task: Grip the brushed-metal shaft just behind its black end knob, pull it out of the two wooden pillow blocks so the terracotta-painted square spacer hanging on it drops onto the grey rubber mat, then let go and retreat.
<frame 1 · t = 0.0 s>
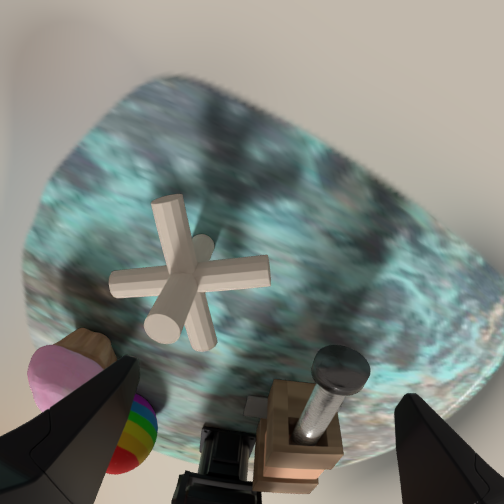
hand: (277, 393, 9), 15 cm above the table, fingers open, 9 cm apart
shaft: (307, 431, 23), point 6 cm above the table, slide at 0.0 cm, touching spacer
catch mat: (292, 410, 31), on the table
decorative egg: (131, 402, 33), on the table
pipe connector: (202, 244, 24), on the table
spacer: (292, 430, 28), point 3 cm above the table, touching shaft
pillow blocks: (300, 392, 29), on the table
cupcake: (98, 342, 29), on the table
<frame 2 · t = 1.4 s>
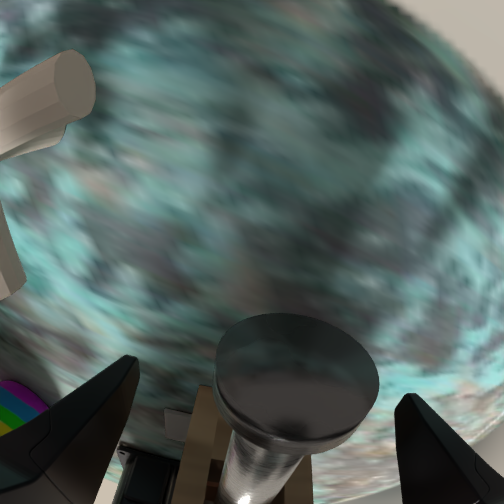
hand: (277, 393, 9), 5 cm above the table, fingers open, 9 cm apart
shaft: (245, 491, 11), point 6 cm above the table, slide at 0.0 cm, touching spacer
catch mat: (241, 436, 18), on the table
decorative egg: (30, 401, 20), on the table
pipe connector: (52, 125, 11), on the table
pillow blocks: (249, 409, 17), on the table
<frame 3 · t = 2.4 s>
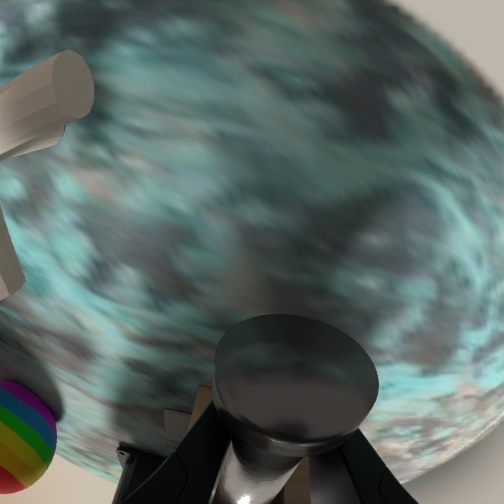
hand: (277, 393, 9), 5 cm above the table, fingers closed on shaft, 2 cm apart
shaft: (245, 491, 11), point 6 cm above the table, slide at 0.0 cm, touching gripper, spacer
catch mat: (240, 437, 18), on the table
decorative egg: (30, 401, 20), on the table
pipe connector: (51, 125, 11), on the table
pillow blocks: (248, 410, 17), on the table
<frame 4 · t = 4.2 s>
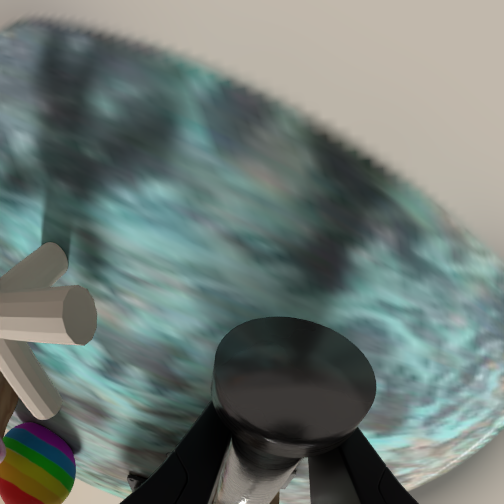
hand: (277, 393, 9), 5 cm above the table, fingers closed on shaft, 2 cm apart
shaft: (244, 491, 11), point 6 cm above the table, slide at 6.3 cm, touching gripper
decorative egg: (50, 437, 23), on the table
pipe connector: (55, 257, 14), on the table
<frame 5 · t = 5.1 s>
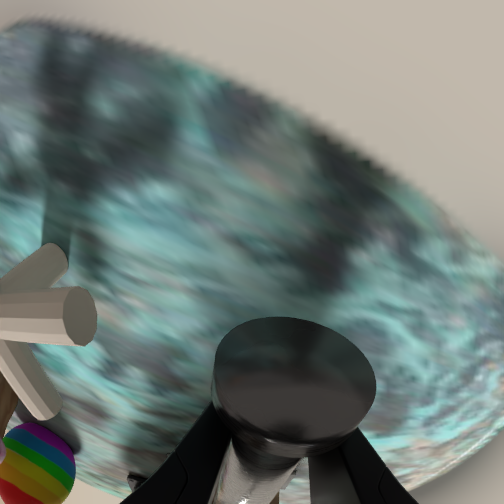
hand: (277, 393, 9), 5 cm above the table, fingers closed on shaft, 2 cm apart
shaft: (244, 491, 11), point 6 cm above the table, slide at 6.3 cm, touching gripper
decorative egg: (50, 437, 23), on the table
pipe connector: (55, 258, 14), on the table
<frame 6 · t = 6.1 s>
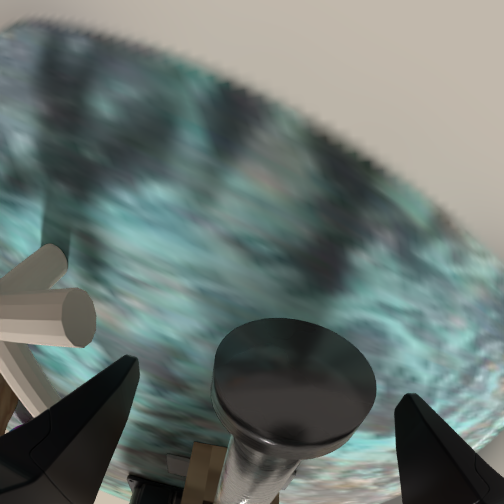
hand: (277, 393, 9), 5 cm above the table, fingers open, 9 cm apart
shaft: (244, 492, 11), point 6 cm above the table, slide at 6.3 cm
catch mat: (229, 474, 21), on the table
pipe connector: (55, 258, 14), on the table
pillow blocks: (234, 457, 19), on the table
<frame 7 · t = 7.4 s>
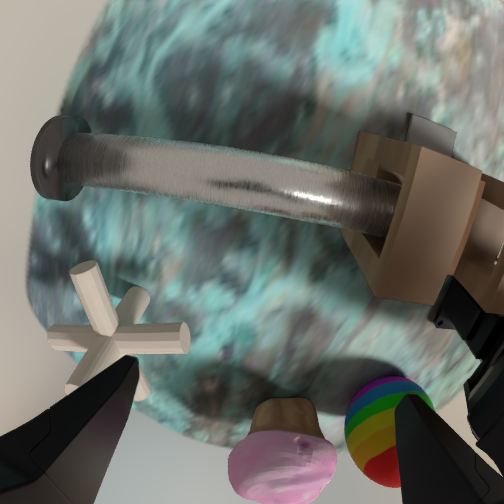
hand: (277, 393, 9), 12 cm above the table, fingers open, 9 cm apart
shaft: (231, 177, 13), point 6 cm above the table, slide at 6.3 cm
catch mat: (415, 196, 18), on the table
decorative egg: (381, 393, 26), on the table
pipe connector: (139, 295, 23), on the table
spacer: (413, 196, 18), resting on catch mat
pillow blocks: (371, 184, 18), on the table
cupcake: (281, 407, 27), on the table
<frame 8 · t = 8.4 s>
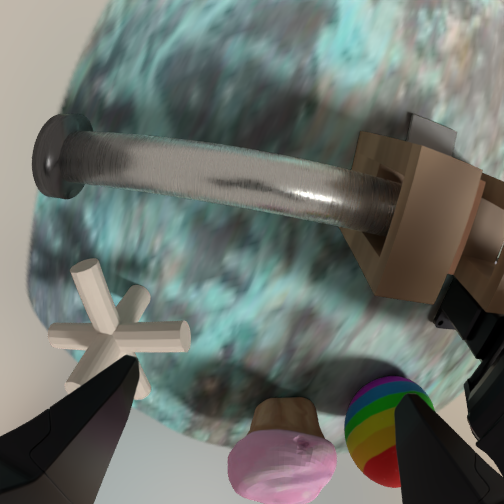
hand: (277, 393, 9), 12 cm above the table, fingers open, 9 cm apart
shaft: (232, 175, 13), point 6 cm above the table, slide at 6.3 cm
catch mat: (416, 196, 18), on the table
decorative egg: (381, 393, 26), on the table
pipe connector: (140, 294, 23), on the table
spacer: (414, 196, 18), resting on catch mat
pillow blocks: (371, 184, 18), on the table
cupcake: (281, 406, 27), on the table
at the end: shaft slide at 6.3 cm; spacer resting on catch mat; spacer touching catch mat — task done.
